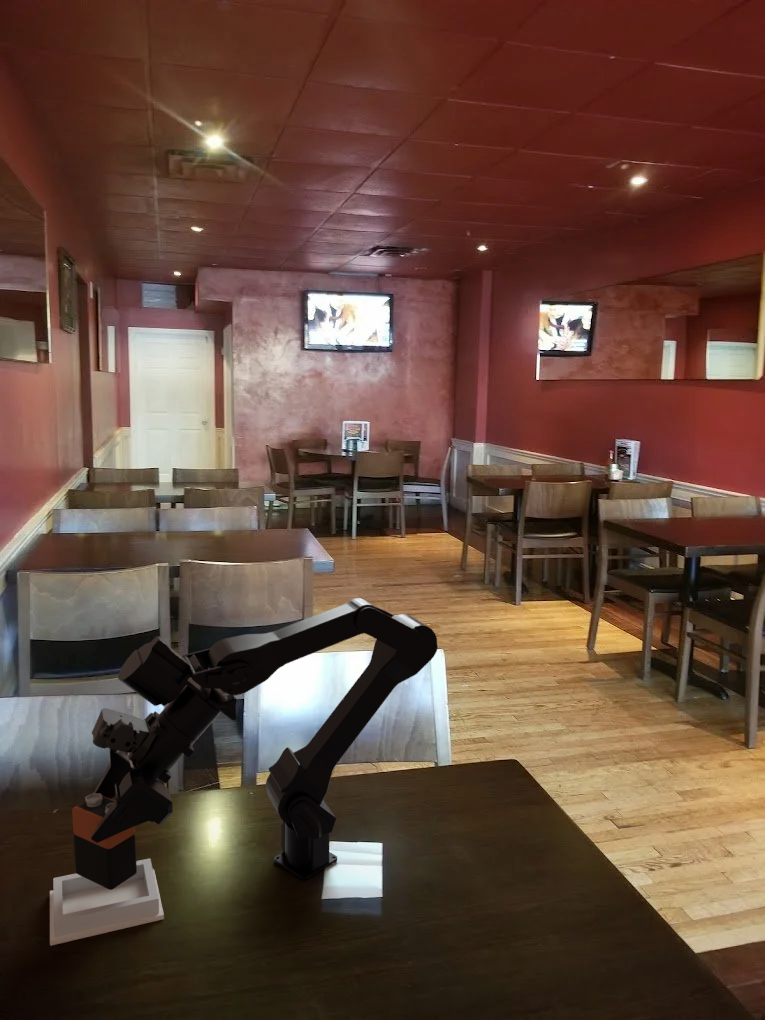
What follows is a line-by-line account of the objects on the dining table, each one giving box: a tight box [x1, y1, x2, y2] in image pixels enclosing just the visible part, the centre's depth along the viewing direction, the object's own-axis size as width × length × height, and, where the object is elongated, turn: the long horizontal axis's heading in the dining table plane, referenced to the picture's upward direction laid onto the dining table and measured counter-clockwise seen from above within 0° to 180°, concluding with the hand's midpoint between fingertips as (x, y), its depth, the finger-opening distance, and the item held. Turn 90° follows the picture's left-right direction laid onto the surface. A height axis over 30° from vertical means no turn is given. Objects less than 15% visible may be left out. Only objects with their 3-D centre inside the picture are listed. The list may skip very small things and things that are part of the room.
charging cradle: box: [49, 858, 165, 947], centre depth 100 cm, size 13×10×3 cm
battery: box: [71, 792, 137, 890], centre depth 98 cm, size 4×7×10 cm, turn 59°
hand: (92, 823), depth 97 cm, fingers closed on battery, 8 cm apart
